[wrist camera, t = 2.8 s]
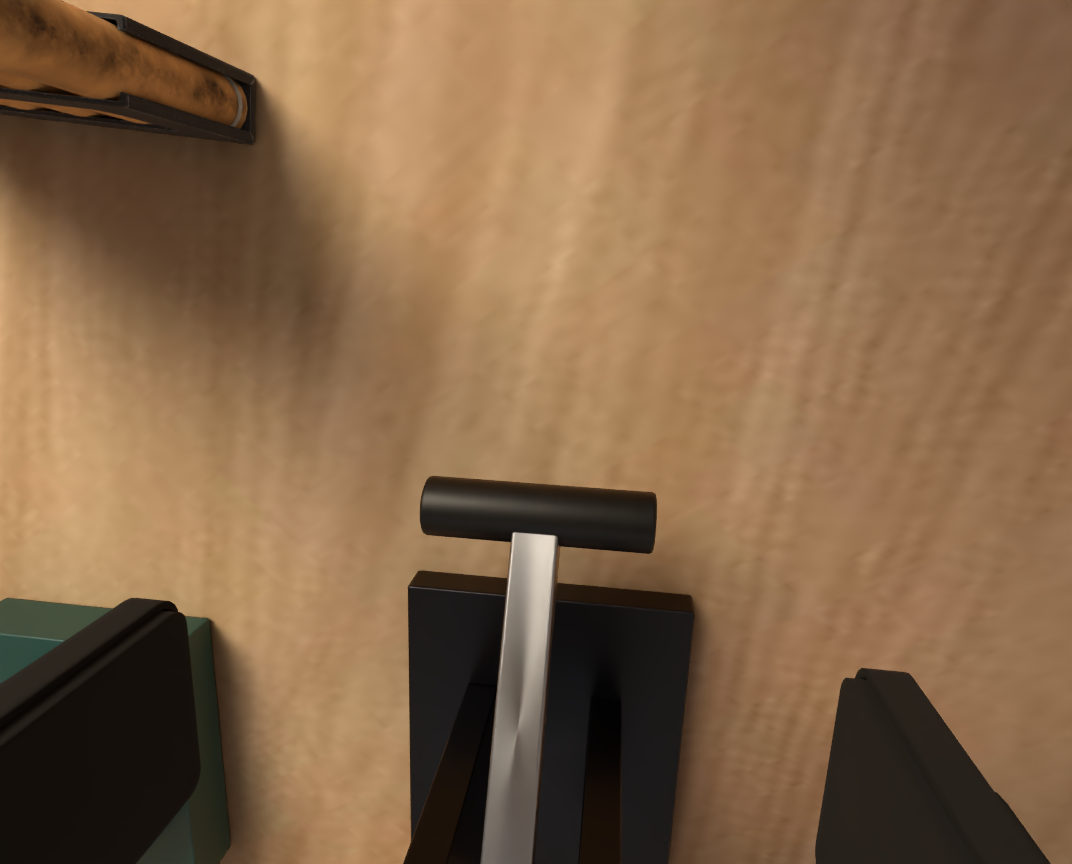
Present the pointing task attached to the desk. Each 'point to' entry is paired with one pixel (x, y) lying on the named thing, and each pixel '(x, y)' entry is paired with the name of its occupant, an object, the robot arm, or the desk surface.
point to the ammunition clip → (117, 75)
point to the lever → (529, 618)
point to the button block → (202, 823)
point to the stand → (549, 719)
